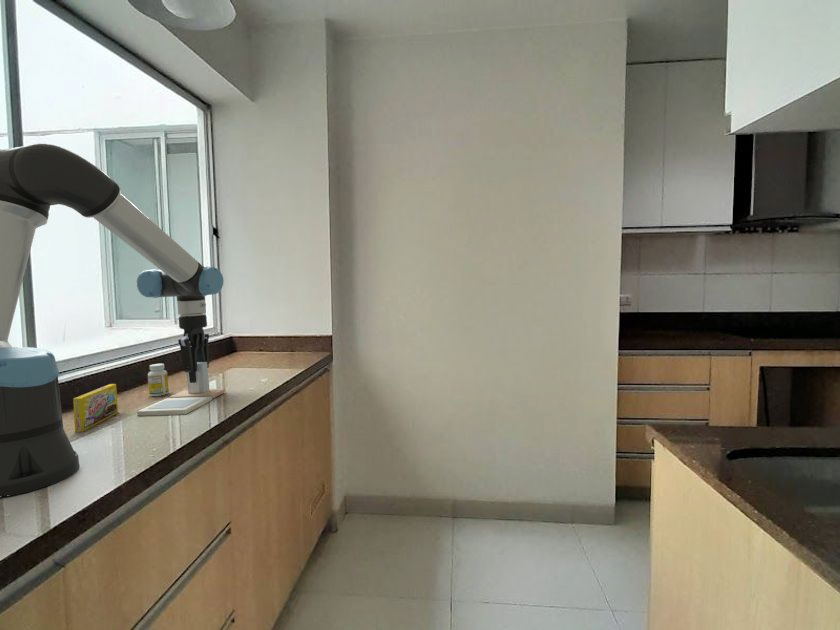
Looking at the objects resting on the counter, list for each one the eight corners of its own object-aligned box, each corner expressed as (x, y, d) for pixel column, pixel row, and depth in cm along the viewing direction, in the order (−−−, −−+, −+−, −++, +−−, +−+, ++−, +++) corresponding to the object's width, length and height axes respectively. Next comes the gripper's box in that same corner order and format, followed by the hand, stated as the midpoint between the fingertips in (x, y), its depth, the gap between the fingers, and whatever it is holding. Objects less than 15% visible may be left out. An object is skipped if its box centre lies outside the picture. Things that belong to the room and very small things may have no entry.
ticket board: (185, 414, 117) (185, 409, 117) (137, 415, 118) (136, 410, 118) (211, 399, 131) (211, 395, 131) (168, 401, 132) (168, 396, 132)
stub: (212, 398, 132) (209, 365, 131) (169, 400, 132) (166, 366, 131) (225, 391, 140) (222, 360, 139) (184, 393, 140) (181, 361, 139)
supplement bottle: (156, 397, 137) (153, 366, 137) (145, 396, 140) (142, 365, 139) (172, 393, 142) (170, 363, 141) (162, 391, 145) (159, 362, 144)
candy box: (84, 432, 106) (80, 398, 106) (74, 433, 106) (70, 398, 105) (119, 412, 122) (116, 383, 122) (111, 413, 122) (108, 383, 121)
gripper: (190, 316, 127) (196, 397, 128) (217, 312, 143) (223, 384, 144) (164, 317, 127) (171, 398, 129) (194, 313, 143) (200, 385, 145)
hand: (198, 391), depth 137 cm, fingers closed on stub, 3 cm apart
